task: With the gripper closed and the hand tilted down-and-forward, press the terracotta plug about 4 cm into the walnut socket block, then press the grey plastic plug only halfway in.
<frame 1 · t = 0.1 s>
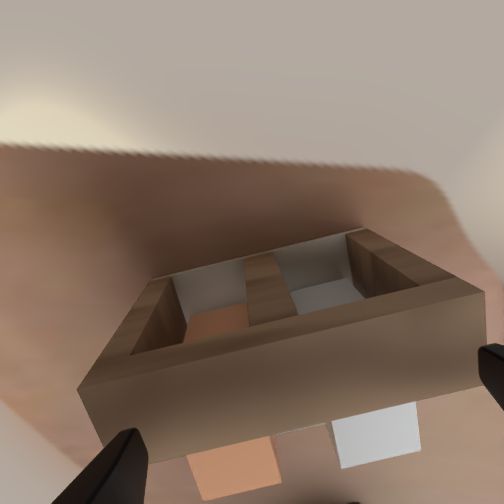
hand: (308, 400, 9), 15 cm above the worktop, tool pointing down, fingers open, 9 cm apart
terracotta plug: (228, 385, 20), point 5 cm above the worktop, slide at 0.0 cm
socket block: (263, 279, 23), on the worktop
grey plug: (343, 357, 19), point 5 cm above the worktop, slide at 0.0 cm
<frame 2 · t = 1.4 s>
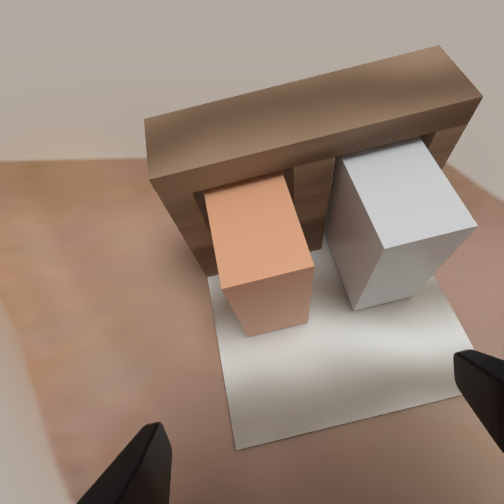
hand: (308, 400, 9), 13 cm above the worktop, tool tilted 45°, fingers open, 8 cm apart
terracotta plug: (261, 260, 19), point 5 cm above the worktop, slide at 0.0 cm
socket block: (300, 233, 25), on the worktop
grey plug: (380, 230, 19), point 5 cm above the worktop, slide at 0.0 cm
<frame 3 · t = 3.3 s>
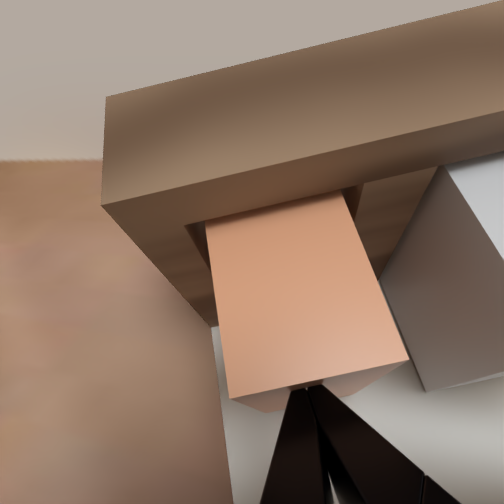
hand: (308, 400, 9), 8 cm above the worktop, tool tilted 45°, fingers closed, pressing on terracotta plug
terracotta plug: (290, 310, 12), point 5 cm above the worktop, slide at 0.5 cm, touching gripper
socket block: (339, 266, 18), on the worktop
grey plug: (484, 281, 12), point 5 cm above the worktop, slide at 0.0 cm
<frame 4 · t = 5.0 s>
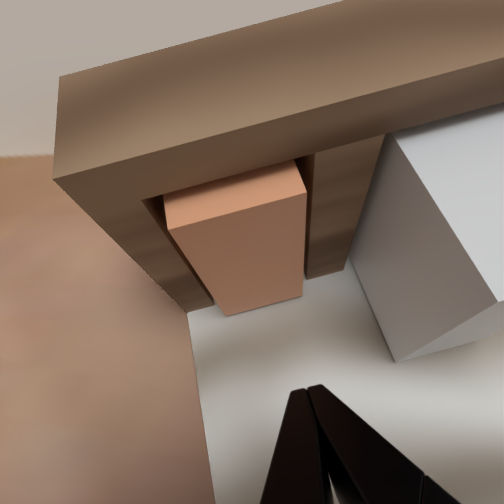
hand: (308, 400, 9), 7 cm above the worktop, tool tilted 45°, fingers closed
terracotta plug: (238, 211, 14), point 5 cm above the worktop, slide at 4.2 cm
socket block: (312, 247, 19), on the worktop
grey plug: (441, 250, 12), point 5 cm above the worktop, slide at 0.0 cm
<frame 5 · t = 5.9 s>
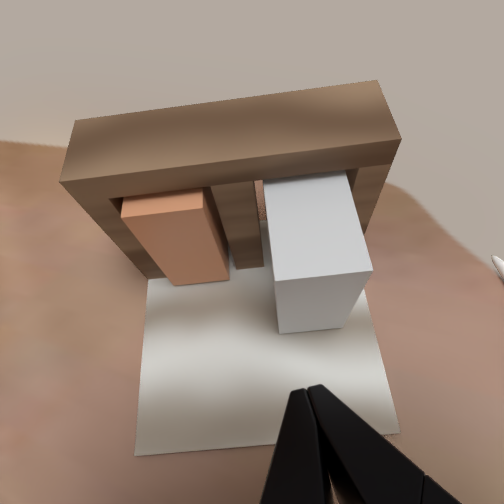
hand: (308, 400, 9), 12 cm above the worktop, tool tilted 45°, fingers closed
terracotta plug: (186, 213, 21), point 5 cm above the worktop, slide at 4.2 cm
socket block: (249, 247, 25), on the worktop
grey plug: (306, 258, 19), point 5 cm above the worktop, slide at 0.0 cm
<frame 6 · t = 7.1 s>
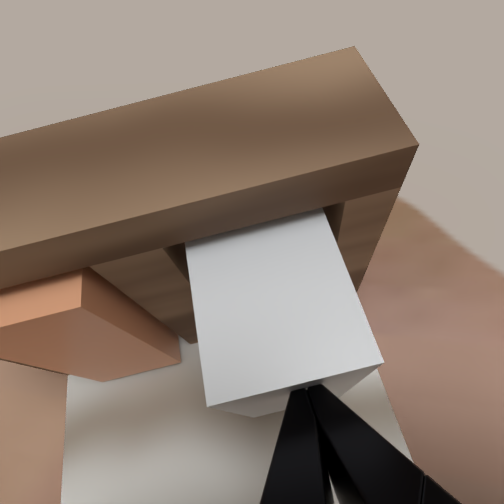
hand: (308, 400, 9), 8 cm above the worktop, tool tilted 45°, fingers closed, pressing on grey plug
terracotta plug: (96, 284, 14), point 5 cm above the worktop, slide at 4.2 cm
socket block: (206, 306, 18), on the worktop
grey plug: (274, 314, 12), point 5 cm above the worktop, slide at 1.0 cm, touching gripper
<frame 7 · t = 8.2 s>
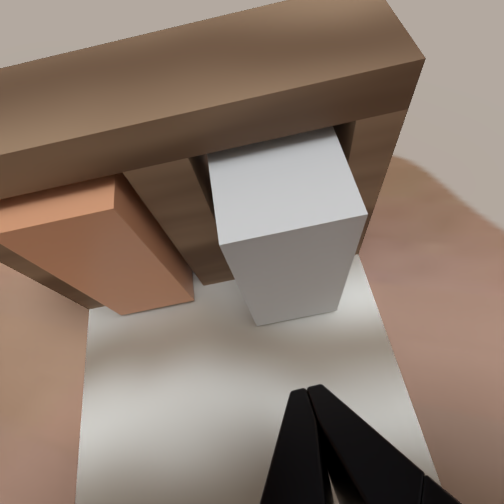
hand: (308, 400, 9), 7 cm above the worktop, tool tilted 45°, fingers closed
terracotta plug: (120, 217, 15), point 5 cm above the worktop, slide at 4.2 cm
socket block: (219, 254, 19), on the worktop
grey plug: (279, 221, 14), point 5 cm above the worktop, slide at 2.2 cm
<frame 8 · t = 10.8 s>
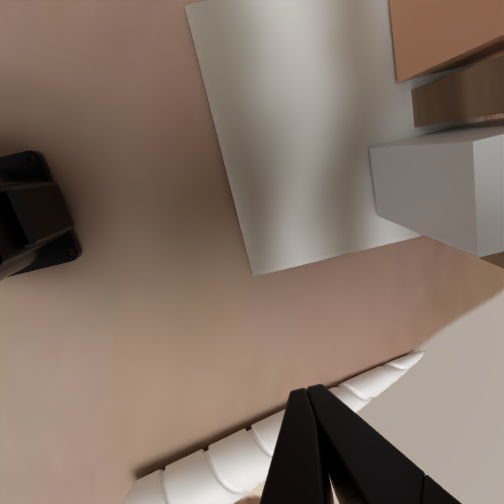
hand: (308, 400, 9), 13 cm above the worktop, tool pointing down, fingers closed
unicorn horn: (265, 422, 25), on the worktop
socket block: (442, 101, 19), on the worktop
grey plug: (474, 174, 15), point 5 cm above the worktop, slide at 2.2 cm
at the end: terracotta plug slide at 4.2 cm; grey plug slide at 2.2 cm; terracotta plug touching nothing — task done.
